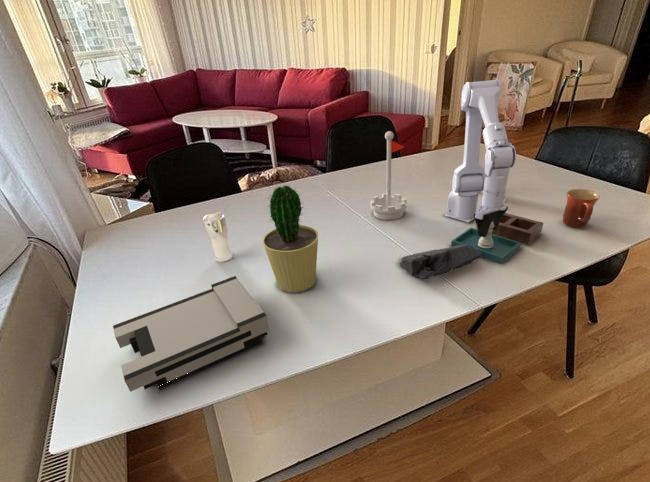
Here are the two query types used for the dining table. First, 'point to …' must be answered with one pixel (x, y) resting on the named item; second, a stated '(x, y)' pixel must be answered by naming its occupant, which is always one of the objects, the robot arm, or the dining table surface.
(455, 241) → the tray
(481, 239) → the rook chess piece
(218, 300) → the game console
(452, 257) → the dark slate chunk
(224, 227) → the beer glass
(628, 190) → the dining table surface
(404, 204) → the flag stand
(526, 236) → the wooden compartment box
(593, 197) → the mug
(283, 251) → the potted cactus
